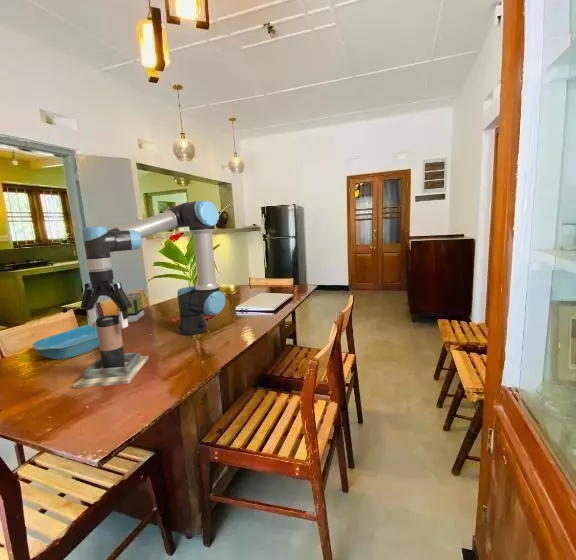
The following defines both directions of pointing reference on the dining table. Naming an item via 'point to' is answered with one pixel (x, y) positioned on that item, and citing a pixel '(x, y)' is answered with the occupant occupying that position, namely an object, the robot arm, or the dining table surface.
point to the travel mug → (110, 341)
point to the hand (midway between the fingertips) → (109, 326)
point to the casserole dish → (68, 343)
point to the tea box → (134, 307)
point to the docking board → (111, 372)
